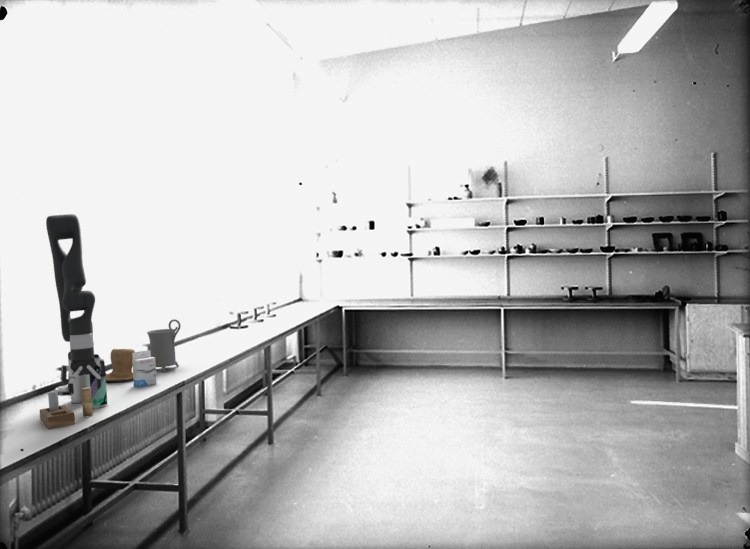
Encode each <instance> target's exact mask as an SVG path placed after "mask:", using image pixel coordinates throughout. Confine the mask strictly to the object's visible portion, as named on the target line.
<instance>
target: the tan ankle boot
mask: <svg viewBox="0 0 750 549" xmlns="http://www.w3.org/2000/svg"><path fill="white" fill-rule="evenodd" d="M133 352H136V351H135V349H133V348H113V349H111V352H110V362H111V366H112V371H111V372H109V373H106V376H105V377H106V383H107V382H108V383H109V382H112V381H116V382H126V381H130V380H133V364H132V360H133V357H132V353H133Z"/></svg>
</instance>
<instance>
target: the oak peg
mask: <svg viewBox="0 0 750 549" xmlns="http://www.w3.org/2000/svg"><path fill="white" fill-rule="evenodd" d="M81 392H82V403H81V404H82V415H83V416H84V417H83V418H87V417H86V416H90V417H92V416H94V414H93V408H92V401H91V388H90V387H87V388H82V389H81Z"/></svg>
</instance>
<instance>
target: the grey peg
mask: <svg viewBox="0 0 750 549" xmlns="http://www.w3.org/2000/svg"><path fill="white" fill-rule="evenodd" d="M47 394H48V395H47V396H48V408H49V411H53V410H59V406H60V404H59V403H60V402H59V391H58V390H57V391H55V390H53V391H49V392H48V393H47Z"/></svg>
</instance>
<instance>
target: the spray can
mask: <svg viewBox="0 0 750 549" xmlns="http://www.w3.org/2000/svg"><path fill="white" fill-rule="evenodd" d="M94 359H95V362H96V361H100V360H103V361H104V362H105V359H103V358H102V357H100V356H99V354H97V353H94ZM94 370H95V371H96V372H97V373H98V374H101V372H100V367H99V366H98V365H97V364H96V366H95V367H94ZM89 376H90V388H91V401H92V409H94V408H95V409H97V408H99V407H100V408H104V407H106V406H105V405H107V406H108V394H107V393H108V392H107V382H106V377H102V378H101V388H100V389H99V390H97V389H96V381H95V379H96V377H95V376H94V375H92V374H91V373H90V374H89ZM103 406H104V407H103Z"/></svg>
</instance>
